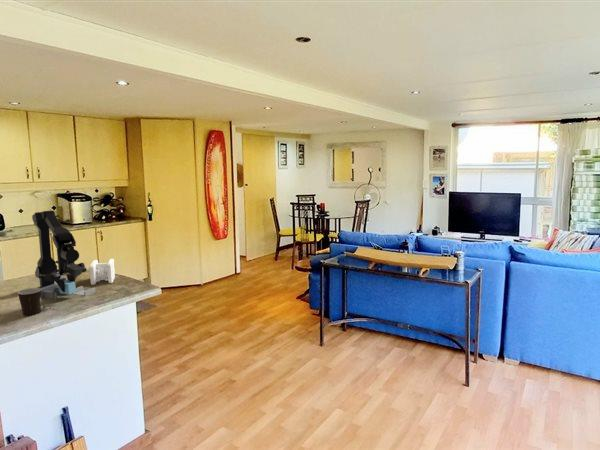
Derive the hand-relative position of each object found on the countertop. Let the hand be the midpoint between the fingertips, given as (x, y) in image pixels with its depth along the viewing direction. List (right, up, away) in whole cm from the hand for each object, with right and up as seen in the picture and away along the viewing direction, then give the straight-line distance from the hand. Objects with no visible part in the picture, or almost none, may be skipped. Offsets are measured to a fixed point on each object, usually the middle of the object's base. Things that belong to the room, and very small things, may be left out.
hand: (67, 290), depth 199 cm
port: (-8, -4, +3) cm, 9 cm away
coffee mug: (-6, -8, -18) cm, 21 cm away
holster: (+4, -3, +8) cm, 9 cm away
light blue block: (0, -1, 0) cm, 1 cm away
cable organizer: (+4, 0, +28) cm, 28 cm away
